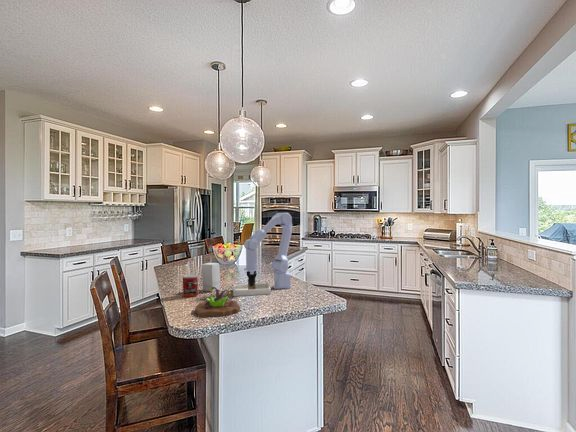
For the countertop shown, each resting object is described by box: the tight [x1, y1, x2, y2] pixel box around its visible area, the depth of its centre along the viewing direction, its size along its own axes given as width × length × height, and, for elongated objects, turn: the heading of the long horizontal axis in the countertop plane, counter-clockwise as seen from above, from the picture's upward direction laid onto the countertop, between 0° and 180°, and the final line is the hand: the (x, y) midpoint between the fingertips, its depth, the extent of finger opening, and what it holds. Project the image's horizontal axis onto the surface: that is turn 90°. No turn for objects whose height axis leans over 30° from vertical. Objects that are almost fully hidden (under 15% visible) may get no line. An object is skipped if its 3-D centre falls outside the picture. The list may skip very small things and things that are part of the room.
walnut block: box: [247, 278, 256, 290], centre depth 175 cm, size 4×4×6 cm
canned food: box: [182, 273, 199, 299], centre depth 169 cm, size 8×8×11 cm
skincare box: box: [201, 262, 221, 293], centre depth 180 cm, size 8×7×16 cm
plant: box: [194, 287, 241, 318], centre depth 143 cm, size 20×20×11 cm
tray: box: [232, 282, 272, 297], centre depth 175 cm, size 20×14×3 cm
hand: (251, 284), depth 175 cm, fingers open, 4 cm apart
